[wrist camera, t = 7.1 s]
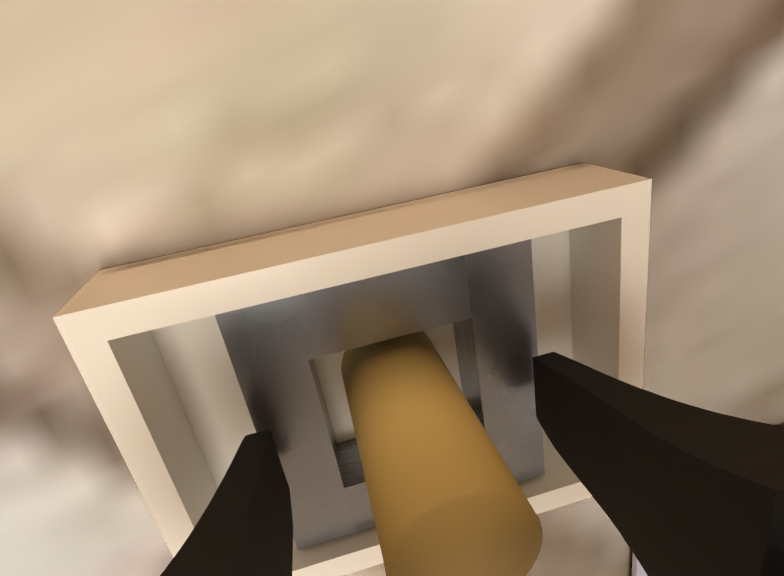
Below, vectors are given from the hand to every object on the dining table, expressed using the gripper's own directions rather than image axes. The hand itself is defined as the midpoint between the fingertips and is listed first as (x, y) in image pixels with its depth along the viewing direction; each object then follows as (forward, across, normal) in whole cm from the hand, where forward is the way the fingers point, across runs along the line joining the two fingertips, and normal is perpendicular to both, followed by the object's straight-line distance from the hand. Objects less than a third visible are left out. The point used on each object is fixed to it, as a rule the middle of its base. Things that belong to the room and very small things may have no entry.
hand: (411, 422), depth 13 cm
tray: (+3, 0, 0) cm, 3 cm away
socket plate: (+3, 0, 0) cm, 3 cm away
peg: (+3, 0, 0) cm, 3 cm away
